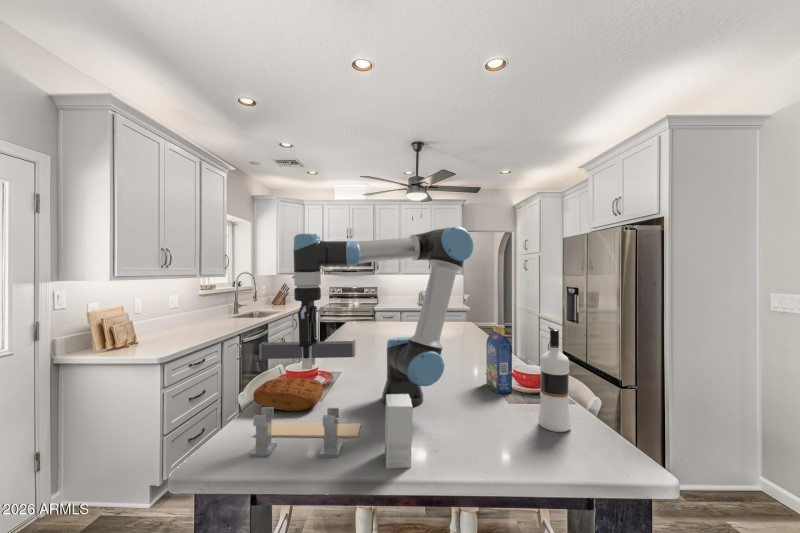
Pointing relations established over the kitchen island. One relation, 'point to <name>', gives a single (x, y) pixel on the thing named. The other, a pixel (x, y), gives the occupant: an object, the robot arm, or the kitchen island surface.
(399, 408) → the skincare box
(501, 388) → the blue food package
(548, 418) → the vodka
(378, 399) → the kitchen island surface
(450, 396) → the kitchen island surface
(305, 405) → the inscribed clay slab
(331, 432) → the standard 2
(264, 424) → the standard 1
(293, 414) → the kitchen island surface
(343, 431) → the mat
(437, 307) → the robot arm
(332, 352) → the rail
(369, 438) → the kitchen island surface
